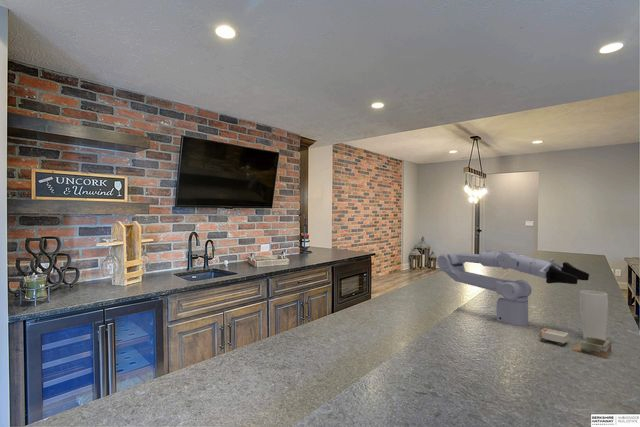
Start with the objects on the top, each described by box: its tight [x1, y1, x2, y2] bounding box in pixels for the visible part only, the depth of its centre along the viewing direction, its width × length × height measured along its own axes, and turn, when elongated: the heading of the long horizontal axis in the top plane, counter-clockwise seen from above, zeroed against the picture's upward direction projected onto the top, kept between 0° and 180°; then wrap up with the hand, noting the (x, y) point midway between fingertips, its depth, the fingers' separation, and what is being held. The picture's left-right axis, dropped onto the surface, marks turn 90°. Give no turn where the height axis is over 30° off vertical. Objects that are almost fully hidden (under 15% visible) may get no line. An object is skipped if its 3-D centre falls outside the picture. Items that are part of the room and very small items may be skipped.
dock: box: [571, 336, 612, 359], centre depth 93 cm, size 19×12×4 cm, turn 40°
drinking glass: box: [578, 289, 609, 340], centre depth 98 cm, size 7×7×15 cm
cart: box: [538, 327, 570, 347], centre depth 95 cm, size 6×5×3 cm
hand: (582, 279), depth 98 cm, fingers open, 7 cm apart
